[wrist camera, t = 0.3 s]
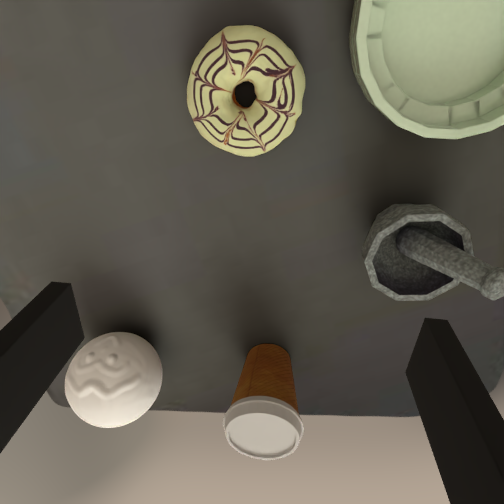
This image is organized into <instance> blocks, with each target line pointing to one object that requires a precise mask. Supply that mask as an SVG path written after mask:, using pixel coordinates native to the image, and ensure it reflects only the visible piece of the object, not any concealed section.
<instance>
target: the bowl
mask: <svg viewBox="0 0 504 504" xmlns="http://www.w3.org/2000/svg"><path fill="white" fill-rule="evenodd" d="M349 46H350V53H351V60H352V67H353V72H354V75H355V77H356V79H357V81H358V83H359V85H360V87H361V90H362V92H363V94H364V96H365V98H366V99H367V100H368V101H369V102H370V103H371V104H372V105H373V106H374V107H375V108H376V109H377V110H378V111H379V112H380V113H381V114H382V115H383V116H385V117H386V118H387V119H388V120H390V121H391V122H392V123H394V124H395V125H397V126H398V127H401V128H403V129H406V130H408V131H410V132H413V133H415V134H418V135H420V136H423V137H425V138H442V139H460V138H464V137H468V136H472V135H477V134H481V133H485V132H489V131H491V130H494V129H496V128H498V127H500V126H502V125H503V124H504V0H355V2H354V7H353V14H352V20H351V27H350V34H349Z"/></svg>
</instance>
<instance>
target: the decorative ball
mask: <svg viewBox="0 0 504 504" xmlns="http://www.w3.org/2000/svg"><path fill="white" fill-rule="evenodd" d="M161 383H162V365H161V361H160V358H159V356H158V354H157V352H156V350H155V349H154V348H153V346H152V345H151V344H150V343H149V342H147V341H146V340H145V339H143V338H142V337H140V336H138V335H135V334H132V333H127V332H112V333H107V334H104V335H101V336H99V337H97V338H95V339H93V340H91V341H90V342H88V343H87V344H86V345H85V346H83V347H82V348H81V349H80V350H79V351H78V353H77V354H76V355H75V357H74V358H73V360H72V362H71V364H70V366H69V368H68V371H67V373H66V377H65V394H66V397H67V400H68V402H69V404H70V406H71V408H72V409H73V411H74V412H75V413H76V414H77V415H78V416H79V417H80V418H81V419H82V420H84V421H85V422H87V423H89V424H92V425H94V426H98V427H104V428H113V427H119V426H123V425H126V424H128V423H131V422H133V421H135V420H136V419H138V418H139V417H141V416H142V415H143V414H144V413H145V412H146V411H147V410H148V409H149V408H150V407H151V406H152V404H153V403H154V401H155V399H156V398H157V396H158V393H159V391H160V388H161Z"/></svg>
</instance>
